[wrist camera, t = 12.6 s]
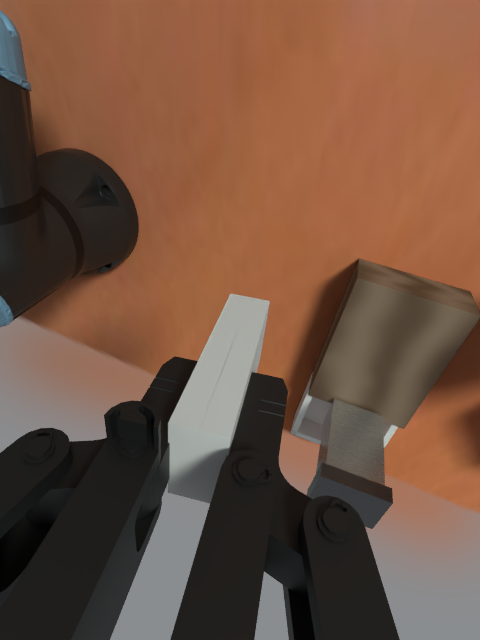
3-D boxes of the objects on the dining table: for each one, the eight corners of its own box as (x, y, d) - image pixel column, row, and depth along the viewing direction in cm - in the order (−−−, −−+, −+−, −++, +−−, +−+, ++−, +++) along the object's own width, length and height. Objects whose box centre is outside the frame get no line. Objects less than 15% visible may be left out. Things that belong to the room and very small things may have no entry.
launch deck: (313, 370, 52) (307, 395, 48) (359, 258, 42) (357, 278, 38) (401, 400, 50) (403, 428, 46) (470, 291, 40) (481, 315, 36)
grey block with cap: (318, 421, 49) (305, 503, 40) (331, 394, 46) (320, 476, 37) (372, 440, 48) (372, 528, 39) (388, 414, 45) (392, 503, 36)
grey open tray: (294, 415, 57) (290, 433, 54) (313, 370, 52) (309, 387, 49) (373, 444, 56) (373, 464, 53) (401, 400, 50) (403, 419, 47)
